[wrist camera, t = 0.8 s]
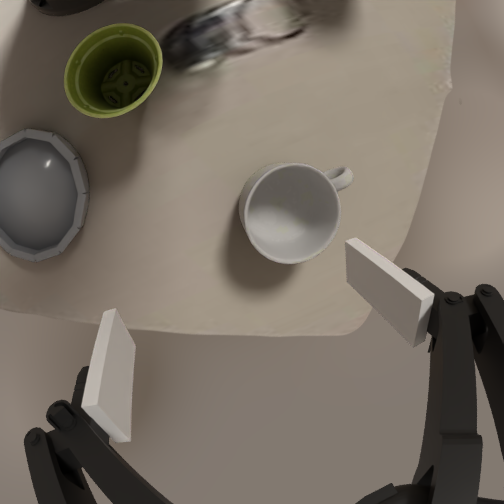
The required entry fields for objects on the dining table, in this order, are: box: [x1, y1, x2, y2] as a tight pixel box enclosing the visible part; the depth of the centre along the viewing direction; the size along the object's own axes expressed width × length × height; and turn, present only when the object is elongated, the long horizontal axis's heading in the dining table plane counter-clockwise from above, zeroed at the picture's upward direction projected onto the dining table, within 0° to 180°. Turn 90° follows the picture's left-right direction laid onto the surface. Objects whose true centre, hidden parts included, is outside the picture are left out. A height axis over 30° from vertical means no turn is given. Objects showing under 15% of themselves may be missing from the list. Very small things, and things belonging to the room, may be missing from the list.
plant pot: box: [64, 23, 162, 118], centre depth 24 cm, size 9×9×9 cm
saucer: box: [0, 129, 89, 262], centre depth 29 cm, size 16×16×2 cm
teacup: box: [239, 163, 354, 264], centre depth 34 cm, size 14×11×8 cm
